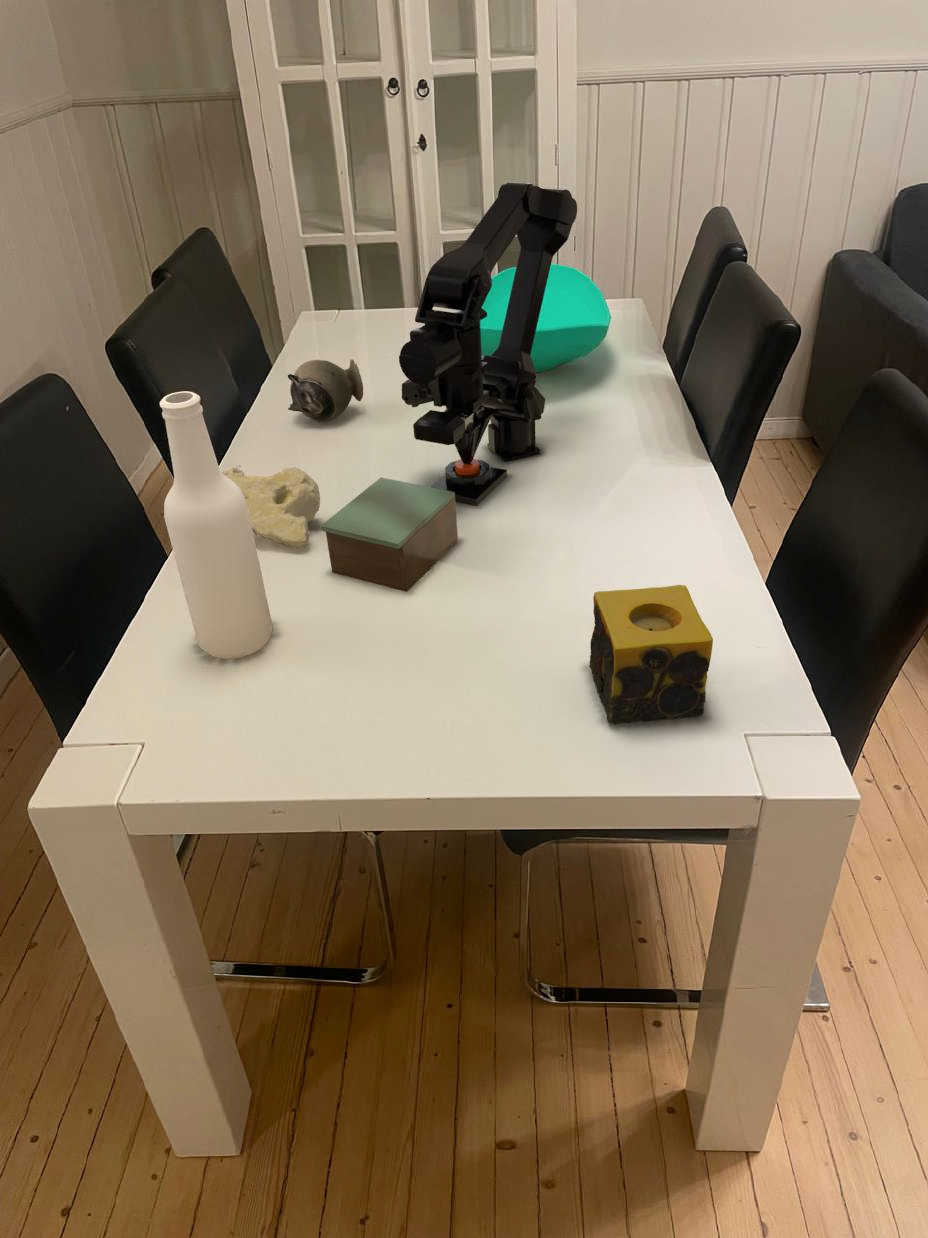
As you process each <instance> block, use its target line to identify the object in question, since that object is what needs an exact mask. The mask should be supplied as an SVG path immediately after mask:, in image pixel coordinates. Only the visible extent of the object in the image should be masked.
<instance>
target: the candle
mask: <svg viewBox="0 0 928 1238" xmlns="http://www.w3.org/2000/svg"><path fill="white" fill-rule="evenodd" d="M592 611H593V616H594V620H593V623H594V626H593V631H592V635H591V639H590V655H589V661H588V663H589V666H588V667H589V668H590V670H591V675H592V678H593V679H592V680H593V682H594V685H595V689H596V691H597V693H598V694H599V695H598V698H599V699H600V702H601V704H602V706H603V708H604V710H605V713H606V720H607V721H608V723H609V724H611V725H617V724H632V723H636V722H637V723H638V722H645V723H648V722H654V721H655V722H656V721H663V720H670V719H671V720H672V719H674V720H676V719H679V718H680V719H681V718H692V717H693V718H699V717H701V716H703V714H704V713H705V703H706V695H707V694H706V692H707V691H706V686H707V681H708V673H709V669H710V666H711V665H710V664H711V661H712V660H711V659H712V652H713V644H714V639H713V636H712V633H711V631H710V630H709V628H708V627H707V625H706V624H705V623H704V621H703V619H702V617H701V616H700V613H699V611H698V609H697V606H696V605H695V603H694V601H693V598H692V596H691V593H690V591H689V589H688V587H687V586H686V585H683V584H675V585H668V586H661V587H660V586H659V587H646V588H634V589H633V588H632V589H615V590H614V589H613V590H601V591H599V590H598V591H594V593H593V610H592Z"/></svg>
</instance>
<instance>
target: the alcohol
mask: <svg viewBox="0 0 928 1238" xmlns="http://www.w3.org/2000/svg"><path fill="white" fill-rule="evenodd" d="M200 403H201V396H200V395H199V394H197V393H195V392H194V391H176V392H172V393H169V394H167V395H165V396H164V397H163V398H162V399H161V400H160V401H159V407H160V408H161V409H162V412H161V417H162V419H163V420H164V423H165V430H166V434H167V439H168V440H167V441H168V447H169V452H170V453H169V454H170V458H171V464H172V465H171V466H172V471H173V483H172V485H171V487H170V489H169V491H168V493H167V494H166V497H165V499H164V503H163V509H164V510H163V517H164V522H165V526H166V529H167V533H168V537H169V540H170V545H171V549H172V552H173V556H174V559H175V564H176V567H177V571H178V574H179V577H180V578H179V579H180V581H181V585H182V586H181V587H182V589H183V593H184V597H185V600H186V604H187V608H188V611H189V615H190V619H191V622H192V627H193V630H194V634H195V638H196V643H197V645H198V646H199V648H200V649H202V650H203V651H204V652H206V654H208V655H210V656H211V657H214V658H218V659H223V660H232V659H239V658H244V657H247V656H250V655H252V654H254V653H255V652H256V653H257V652H258V651H259V650H261V649H262V648H263V647H264V646H265V645H266V644H267V642H268V641H269V639H270V637H271V634H272V632H273V622H272V617H271V612H270V607H269V602H268V598H267V593H266V588H265V583H264V578H263V573H262V569H261V564H260V559H259V554H258V550H257V545H256V541H255V535H254V530H253V529H252V525H251V520H250V516H249V511H248V506H247V502H246V500H245V498H244V496H243V494H242V492H241V490H240V488H239V487H238V486H237V485H236V484H235V483H234V482H233V481H232V480H230V479H229V478H227V477H226V476H225V475H223V473H222V472H223V471H222V470H221V469H220V466H219V463H218V460H217V457H216V453H215V450H214V447H213V444H212V441H211V438H210V434H209V431H208V428H207V424H206V422H205V419H204V416H203V412H204V409H203V406H202V405H201V404H200Z"/></svg>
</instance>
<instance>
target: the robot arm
mask: <svg viewBox="0 0 928 1238" xmlns="http://www.w3.org/2000/svg"><path fill="white" fill-rule="evenodd" d="M577 215H578V203H577V201H576V199H575V198H574V197H573V195H572V192H571V191H570V190H569V189H565V188H564V189H563V188H551V187H540V186H538V185H536V184H534V183H531V182H518V181H517V182H515V181H508V182H506V183H503V184H502V185H500V187H499V189H498V193H497V197H496V198H495V200H494V202H493V203H492V204H491V206H490V207H489V209H488V210H486V212H485V214H484V215H483V217H482V218H481V219H480V221H479V222H478V224H477V225H476V226H475V228H474V229H473V230H472V232H471V233H470V235H468V237H467V239H466V240H465V242H464V243H463V244H462V245H461V246H459V247H456V248H454V249H452V250H450V251H448V252H445V253H444V254H443V255H442V256H441V257H440V258H439V259H438V260H437V261H435V263H434V264H433V265H432V266H431V267H430V270H429V271H428V272H427V275H426V278H425V281H424V285H423V288H422V292H421V295H420V300H419V303H418V307H417V309H416V313H415V316H414V317H415V318H414V321H415V323H417V324H418V323H419V324H424V325H422V326H421V327H416V328H414V329H412V330H410V331H409V341H407V342H406V343H404V344H403V345H402V347H401V349H400V353H399V355H398V362H399V367H400V369H401V371H402V373H403V374H404V376H405V377H406V378H407V380H405V381H404V382H402V383H401V389H400V390H401V399H402V401H404V404H406V405H408V406H411V408H418V407H419V406H420V405H425V404H428V403H432V402H433V407H439V408H442V407H445V410H444V411H439V410H433V409H430V410H429V411H427V412H426V413H424V414H423V415H422V416H421V417H419V418H418V419H417V420H416V421H415V422H414V423H413V424H412V427H413V437H414V440H417V441H422V442H428V443H433V444H439V445H445V446H452V445H454V447H455V449H456V451H457V453H458V456H459V458H460V459H461V460H462V462H463V463H464V464H470V463H471V462H472V460H473V459H475V458H474V457H475V455H476V453H477V450H478V448H479V446H480V444H481V441H482V438H483V436H484V434H485V432H486V430H487V435H488V443H487V448H488V449H489V450H490V451H491V452H492V453H493V454H494V455H495V456H497V458H499V459H500V460H501V461H502V462H509V461H513V460H518V459H522V458H526V457H532V456H535V455H539V454H541V449H540V447H538V446H537V445H536V444H537V443H536V442H537V441H536V439H537V437H536V435H537V434H536V432H537V431H536V421H540V420H541V419H542V415H543V414H544V411H545V408H546V406H545V405H546V398H545V397H544V395H543V394H542V393H541V391H539V389H538V388H537V387H536V384H537V383H536V381H537V372H535V368H534V365H533V362H532V359H531V350H532V346H533V341H534V337H535V332H536V328H537V324H538V319H539V315H540V310H541V306H542V302H543V297H544V293H545V288H546V284H547V280H548V275H549V271H550V267H551V264H552V261H553V258H554V256H555V255H556V253H558V251H559V250H560V249H561V248H562V247H563V246H564V245H565V243H566V242H567V241H568V240H569V237H570V234H571V230H572V227H573V224H574V223H575V221H576V219H577ZM515 237H517V240H518V243H519V252H518V258H517V262H516V266H515V267H516V271H515V275H514V280H513V284H512V289H511V293H510V298H509V302H508V307H507V311H506V316H505V320H504V325H503V329H502V334H501V338H500V343H499V346H498V348H497V349H496V350H495V351H494V353H493V354H492V355H491V356H489V355H485V356H482V351H481V330H480V320H482V319H484V318H485V317H487V312H486V311H485V310H484V309H482V306H483V304H484V302H485V300H486V297H487V295H488V293H489V291H490V289H491V287H492V279H491V278H492V272H493V270H494V268H495V267H496V265H497V264H498V262H499V261H500V259H501V258H502V256H503V255H504V253H505V252H506V251H507V250H508V247H509V246H510V245H511V244H512V242H513V241H514V239H515ZM434 307H435V308H439V309H445V310H447V309H448V310H454V311H453V312H451V311H444V310H437V309H434Z"/></svg>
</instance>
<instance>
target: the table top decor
mask: <svg viewBox="0 0 928 1238" xmlns="http://www.w3.org/2000/svg"><path fill="white" fill-rule="evenodd" d="M515 271H516V266H513V267H510V268H506V269H504V270H501V271H500V272H499V273H497V274H495V275H493V276H491V279H492V287H491V289H490V291H489V293H488V295H487V297H486V300H485V302H484V304H483V306H482V309H484V310H485V311H486V312H487V317H485V318H484V319H482V320H480V330H481V351H482V357H484V356H485V355H489V356H491V355H492V354H493V353H494V351H495V350H496V349H497V348H498V346H499V343H500V338H501V334H502V329H503V325H504V320H505V316H506V311H507V307H508V302H509V298H510V293H511V289H512V284H513V280H514V275H515ZM611 320H612V316H611V312H610V308H609V307H608V304H607V302H606V300H605V297H604V295H603V292H602V291H601V289H600V288H599V287H598V285H596V283H594V281H593V280H592V279H591V278H590V276H588V275H586V274H585V273H583V272H581V271H580V270H578V269H576V268H575V267H571V266H566V265H563V264H558V263H557V264H556V263H551V267H550V271H549V275H548V280H547V284H546V288H545V293H544V297H543V302H542V306H541V310H540V315H539V319H538V324H537V328H536V332H535V337H534V341H533V346H532V350H531V359H532V362H533V365H534V368H535V372H536V373H542V372H547V371H549V370H552V369H553V368H555V367H557V366H559V365H565V364H567V363H573V362H574V361H576V360H578V359H580V358H581V359H582V358H583V357H585V356H587V355H588V354H590V353H591V352H592V351H594V350H595V349H597V347H599V346H600V345H601V344H602V342H603V341H604V340H605V338H606V337H607V334H608V331H609V328H610V324H611Z"/></svg>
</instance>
